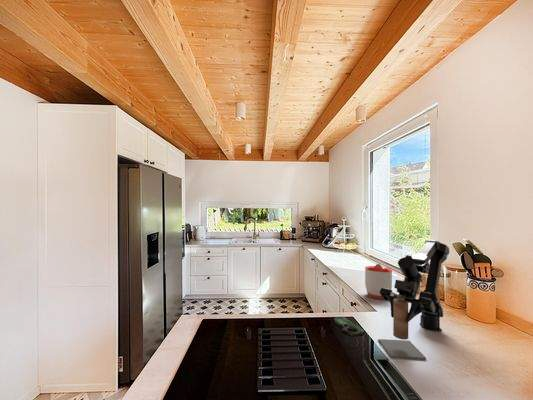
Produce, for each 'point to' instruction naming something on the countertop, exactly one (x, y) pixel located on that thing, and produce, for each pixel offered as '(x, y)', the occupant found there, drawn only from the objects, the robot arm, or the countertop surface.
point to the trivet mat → (401, 349)
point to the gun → (348, 326)
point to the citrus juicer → (377, 280)
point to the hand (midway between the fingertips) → (399, 319)
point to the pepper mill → (400, 318)
